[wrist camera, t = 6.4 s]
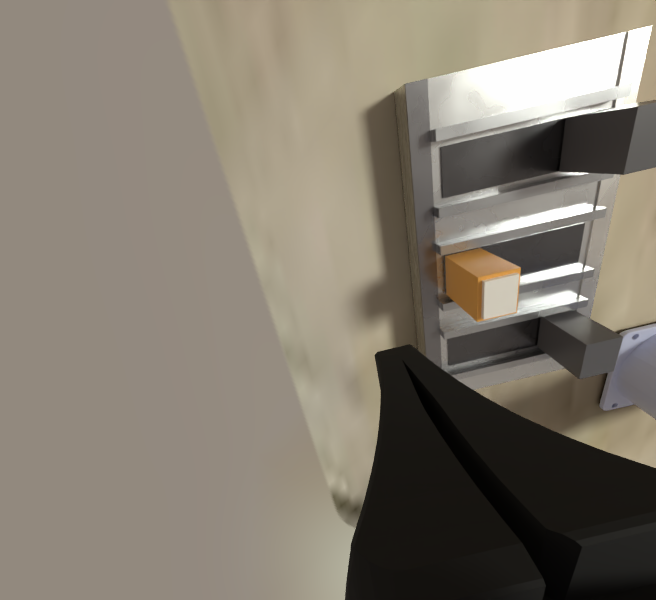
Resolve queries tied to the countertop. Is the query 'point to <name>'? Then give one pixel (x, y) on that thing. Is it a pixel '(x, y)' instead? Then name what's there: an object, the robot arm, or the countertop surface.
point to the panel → (508, 196)
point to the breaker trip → (482, 284)
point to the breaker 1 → (611, 140)
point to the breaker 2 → (579, 343)
